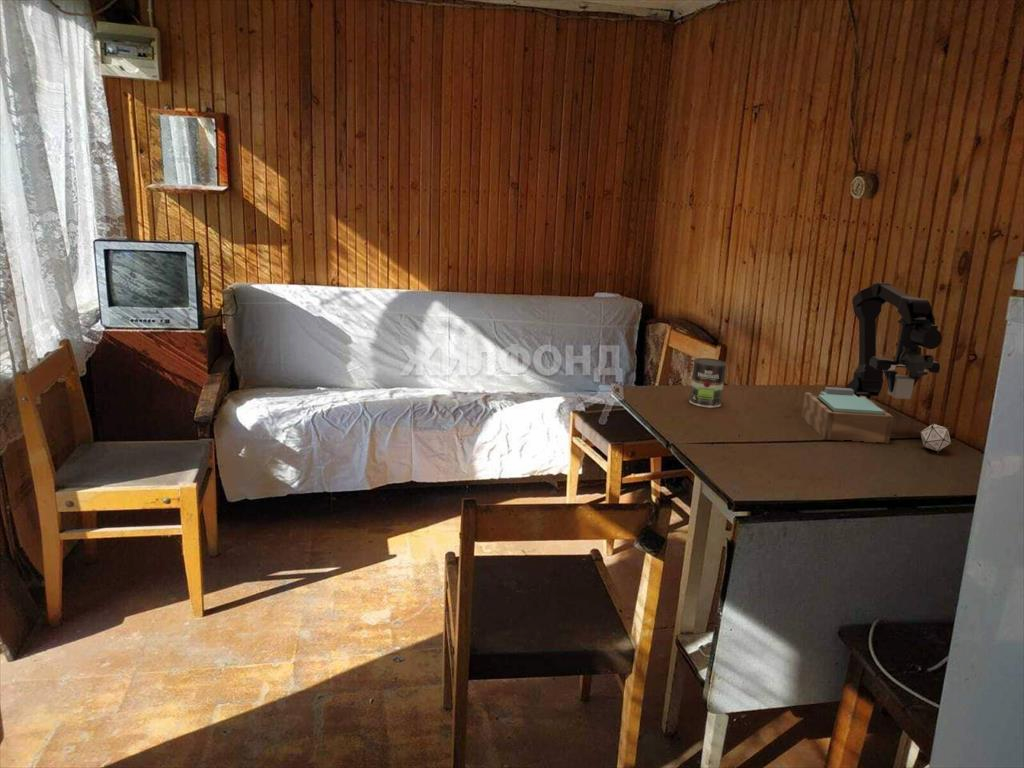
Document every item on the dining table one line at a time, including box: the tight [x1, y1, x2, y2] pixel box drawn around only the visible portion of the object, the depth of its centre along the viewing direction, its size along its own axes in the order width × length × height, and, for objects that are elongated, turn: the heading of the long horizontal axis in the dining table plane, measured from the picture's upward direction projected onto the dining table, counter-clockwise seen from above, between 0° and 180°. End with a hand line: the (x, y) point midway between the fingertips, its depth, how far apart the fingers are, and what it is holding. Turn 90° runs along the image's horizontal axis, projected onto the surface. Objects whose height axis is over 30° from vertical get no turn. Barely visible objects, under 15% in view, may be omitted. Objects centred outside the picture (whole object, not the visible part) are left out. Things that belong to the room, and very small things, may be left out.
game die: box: [917, 420, 955, 455], centre depth 222 cm, size 9×8×10 cm
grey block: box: [886, 374, 915, 400], centre depth 234 cm, size 5×5×6 cm
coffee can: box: [688, 357, 728, 409], centre depth 255 cm, size 10×10×14 cm
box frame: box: [801, 392, 895, 444], centre depth 236 cm, size 22×18×8 cm
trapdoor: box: [818, 386, 884, 414], centre depth 235 cm, size 18×14×3 cm
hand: (899, 392), depth 234 cm, fingers closed on grey block, 5 cm apart
